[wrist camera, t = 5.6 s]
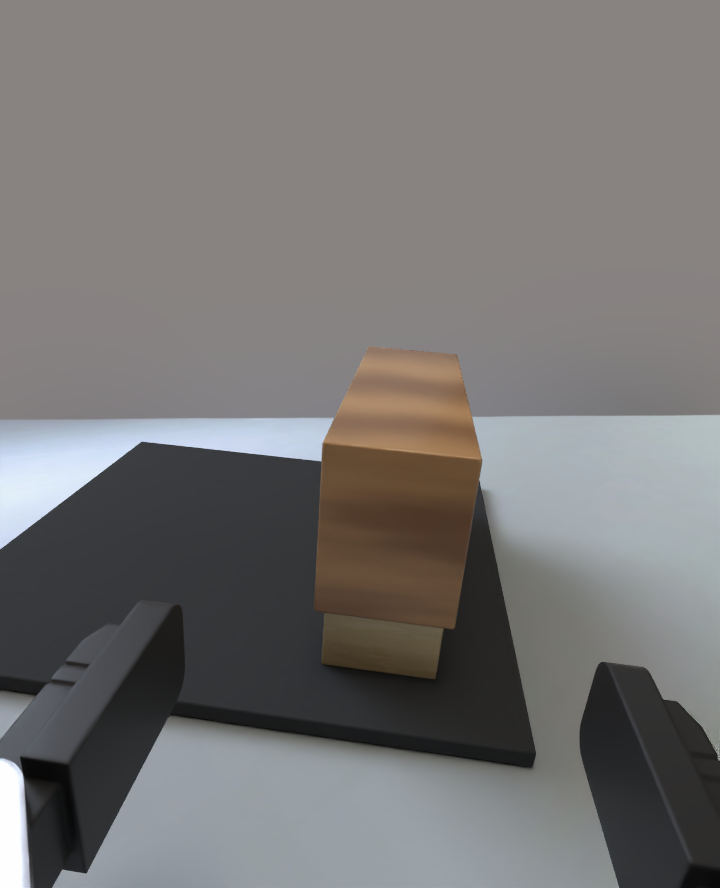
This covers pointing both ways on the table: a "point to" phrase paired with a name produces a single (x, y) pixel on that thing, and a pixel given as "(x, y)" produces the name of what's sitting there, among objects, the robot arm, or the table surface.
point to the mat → (250, 605)
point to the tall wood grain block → (395, 513)
